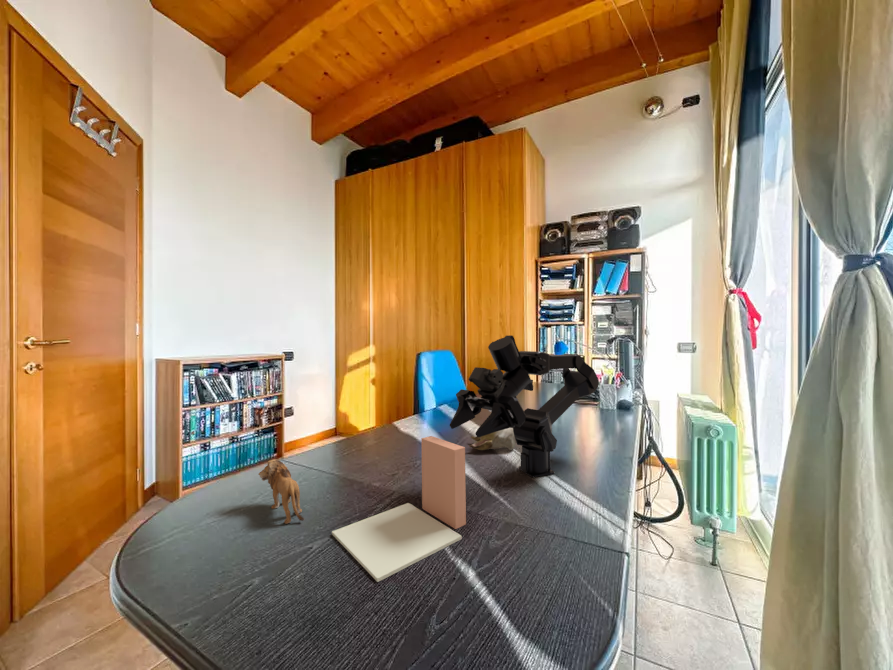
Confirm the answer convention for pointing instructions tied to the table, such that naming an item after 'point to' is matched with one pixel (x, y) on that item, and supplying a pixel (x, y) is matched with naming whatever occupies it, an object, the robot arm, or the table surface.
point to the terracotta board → (444, 480)
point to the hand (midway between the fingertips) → (462, 431)
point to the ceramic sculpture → (495, 440)
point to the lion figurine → (282, 487)
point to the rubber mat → (394, 539)
